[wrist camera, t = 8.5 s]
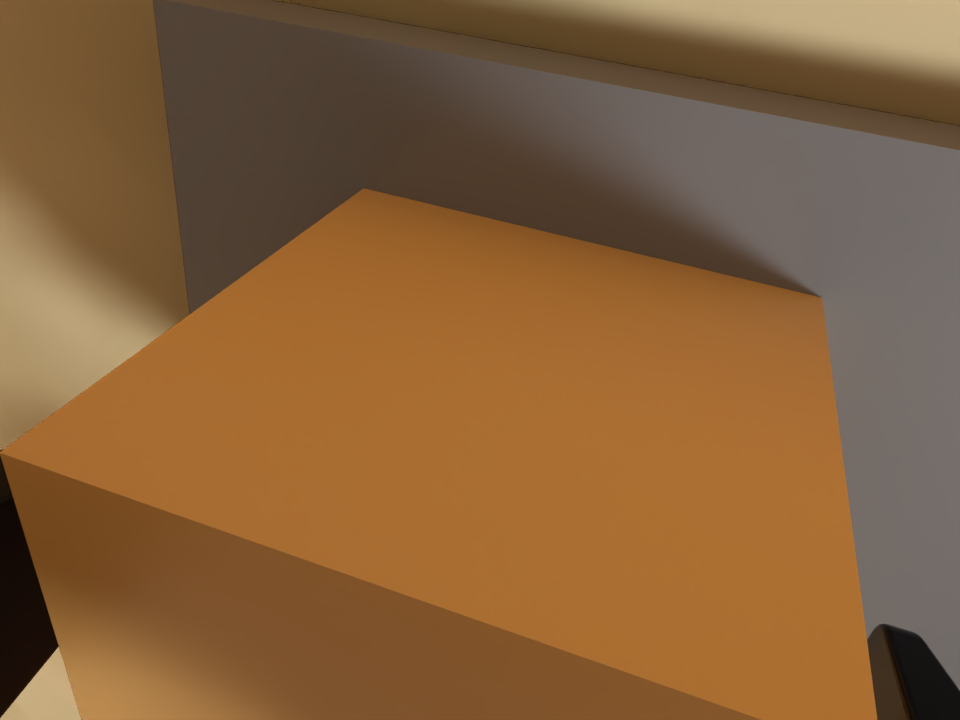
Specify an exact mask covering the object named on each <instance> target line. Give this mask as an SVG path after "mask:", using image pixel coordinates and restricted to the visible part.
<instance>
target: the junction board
mask: <svg viewBox="0 0 960 720" xmlns="http://www.w3.org/2000/svg"><path fill="white" fill-rule="evenodd" d="M153 3H154V12H155V20H156V29H157V38H158V46H159V55H160V63H161V72H162V81H163V89H164V98H165V106H166V115H167V124H168V132H169V141H170V149H171V158H172V167H173V175H174V184H175V192H176V201H177V210H178V218H179V227H180V235H181V244H182V253H183V261H184V270H185V278H186V287H187V296H188V304H189V313H190V314H191V313H193V312H194V311H195V310H197V309H198V308H199V307H201V306H202V305H204V304H205V303H206V302H208V301H209V300H210V299H212V298H213V297H215V296H216V295H217V294H219V293H220V292H221V291H223V290H224V289H226V288H227V287H228V286H230V285H231V284H232V283H234V282H235V281H237V280H238V279H239V278H241V277H242V276H244V275H245V274H246V273H248V272H249V271H250V270H252V269H253V268H255V267H256V266H257V265H259V264H260V263H261V262H263V261H264V260H266V259H267V258H268V257H270V256H271V255H272V254H274V253H275V252H277V251H278V250H279V249H281V248H282V247H283V246H285V245H286V244H288V243H289V242H290V241H292V240H293V239H294V238H296V237H297V236H299V235H300V234H301V233H303V232H304V231H306V230H307V229H308V228H310V227H311V226H312V225H314V224H315V223H317V222H318V221H319V220H321V219H322V218H323V217H325V216H326V215H328V214H329V213H330V212H332V211H333V210H334V209H336V208H337V207H339V206H340V205H341V204H343V203H344V202H345V201H347V200H348V199H350V198H351V197H352V196H354V195H355V194H356V193H358V192H359V191H361V190H362V189H363V188H365V189H369V190H373V191H377V192H381V193H386V194H390V195H394V196H398V197H402V198H406V199H411V200H415V201H419V202H423V203H427V204H432V205H436V206H440V207H444V208H448V209H453V210H457V211H461V212H465V213H469V214H473V215H478V216H482V217H486V218H490V219H494V220H499V221H503V222H507V223H511V224H515V225H520V226H524V227H528V228H532V229H536V230H540V231H545V232H549V233H553V234H557V235H561V236H566V237H570V238H574V239H578V240H582V241H587V242H591V243H595V244H599V245H603V246H607V247H612V248H616V249H620V250H624V251H628V252H633V253H637V254H641V255H645V256H649V257H654V258H658V259H662V260H666V261H670V262H674V263H679V264H683V265H687V266H691V267H695V268H700V269H704V270H708V271H712V272H716V273H721V274H725V275H729V276H733V277H737V278H741V279H746V280H750V281H754V282H758V283H762V284H767V285H771V286H775V287H779V288H783V289H788V290H792V291H796V292H800V293H804V294H808V295H813V296H817V297H821V298H822V301H823V309H824V316H825V324H826V331H827V339H828V347H829V354H830V362H831V369H832V377H833V385H834V392H835V400H836V408H837V415H838V423H839V430H840V438H841V446H842V453H843V461H844V468H845V476H846V484H847V491H848V499H849V507H850V514H851V522H852V529H853V537H854V545H855V552H856V560H857V568H858V575H859V583H860V590H861V598H862V606H863V613H864V621H865V628H866V636H867V639H868V637H869V636H870V634H871V633H872V631H873V630H874V628H875V627H876V626H878V625H879V624H889V625H892V626H895V627H899V628H902V629H905V630H908V631H911V632H914V633H916V634H918V635H919V636H920V637H922V638H923V640H924V641H925V642H926V643H927V645H928V646H929V648H930V649H931V650H932V652H933V653H934V655H935V656H936V657H937V659H938V660H939V661H940V663H941V664H942V666H943V667H944V668H945V670H946V671H947V673H948V674H949V675H950V677H951V678H952V680H953V681H954V682H955V684H956V685H957V686H958V688H959V689H960V126H957V125H951V124H946V123H940V122H935V121H929V120H924V119H919V118H913V117H908V116H902V115H897V114H891V113H886V112H880V111H875V110H869V109H864V108H859V107H853V106H848V105H842V104H837V103H831V102H826V101H820V100H815V99H809V98H804V97H799V96H793V95H788V94H782V93H777V92H771V91H766V90H760V89H755V88H749V87H744V86H739V85H733V84H728V83H722V82H717V81H711V80H706V79H700V78H695V77H689V76H684V75H679V74H673V73H668V72H662V71H657V70H651V69H646V68H640V67H635V66H629V65H624V64H619V63H613V62H608V61H602V60H597V59H591V58H586V57H580V56H575V55H569V54H564V53H559V52H553V51H548V50H542V49H537V48H531V47H526V46H520V45H515V44H509V43H504V42H499V41H493V40H488V39H482V38H477V37H471V36H466V35H460V34H455V33H449V32H444V31H439V30H433V29H428V28H422V27H417V26H411V25H406V24H400V23H395V22H389V21H384V20H379V19H373V18H368V17H362V16H357V15H351V14H346V13H340V12H335V11H329V10H324V9H319V8H313V7H308V6H302V5H297V4H291V3H286V2H280V1H275V0H153Z"/></svg>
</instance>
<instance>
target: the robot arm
mask: <svg viewBox="0 0 960 720" xmlns="http://www.w3.org/2000/svg"><path fill="white" fill-rule="evenodd" d="M3 450H4V449H3ZM1 451H2V450H0V452H1ZM867 644H868V651H869V659H870V667H871V674H872V682H873V689H874V697H875V705H876V712H877V720H960V689H959V688H958V686H957V685H956V684H955V682H954V681H953V680H952V678H951V677H950V675H949V674H948V673H947V671H946V670H945V668H944V667H943V666H942V664H941V663H940V661H939V660H938V659H937V657H936V656H935V655H934V653H933V652H932V650H931V649H930V648H929V646H928V645H927V643H926V642H925V641H924V640H923V638H922V637H920V636H919V635H918V634H916V633H914V632H911V631H908V630H905V629H902V628H899V627H895V626H892V625H889V624H879V625H878V626H876V627H875V628H874V630H873V631H872V633H871V634H870V636H869V637H868V639H867ZM58 647H59V645H58V642H57V639H56V635H55V632H54V629H53V626H52V622H51V619H50V616H49V613H48V609H47V606H46V603H45V599H44V596H43V593H42V590H41V586H40V583H39V580H38V577H37V573H36V570H35V567H34V564H33V560H32V557H31V554H30V551H29V547H28V544H27V541H26V538H25V534H24V531H23V528H22V524H21V521H20V518H19V515H18V511H17V508H16V505H15V502H14V498H13V495H12V492H11V489H10V485H9V482H8V479H7V476H6V472H5V469H4V466H3V463H2V459H1V456H0V718H1V716H2V715H3V714H4V713H5V712H6V710H7V709H8V708H9V707H10V705H11V704H12V703H13V702H14V701H15V699H16V698H17V697H18V696H19V694H20V693H21V692H22V691H23V690H24V688H25V687H26V686H27V685H28V683H29V682H30V681H31V680H32V679H33V677H34V676H35V675H36V674H37V672H38V671H39V670H40V669H41V667H42V666H43V665H44V664H45V663H46V661H47V660H48V659H49V658H50V656H51V655H52V654H53V653H54V652H55V650H56V649H57V648H58Z"/></svg>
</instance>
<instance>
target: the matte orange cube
mask: <svg viewBox="0 0 960 720" xmlns="http://www.w3.org/2000/svg"><path fill="white" fill-rule="evenodd" d="M0 456H1V459H2V463H3V466H4V469H5V472H6V476H7V479H8V482H9V485H10V489H11V492H12V495H13V498H14V502H15V505H16V508H17V511H18V515H19V518H20V521H21V524H22V528H23V531H24V534H25V538H26V541H27V544H28V547H29V551H30V554H31V557H32V560H33V564H34V567H35V570H36V573H37V577H38V580H39V583H40V586H41V590H42V593H43V596H44V599H45V603H46V606H47V609H48V613H49V616H50V619H51V622H52V626H53V629H54V632H55V635H56V639H57V642H58V645H59V648H60V652H61V655H62V658H63V661H64V665H65V668H66V671H67V674H68V678H69V681H70V684H71V688H72V691H73V694H74V697H75V701H76V704H77V707H78V710H79V714H80V717H81V720H877V712H876V705H875V697H874V689H873V682H872V674H871V667H870V659H869V651H868V644H867V636H866V628H865V621H864V613H863V606H862V598H861V590H860V583H859V575H858V568H857V560H856V552H855V545H854V537H853V529H852V522H851V514H850V507H849V499H848V491H847V484H846V476H845V468H844V461H843V453H842V446H841V438H840V430H839V423H838V415H837V408H836V400H835V392H834V385H833V377H832V369H831V362H830V354H829V347H828V339H827V331H826V324H825V316H824V309H823V301H822V298H821V297H817V296H813V295H808V294H804V293H800V292H796V291H792V290H788V289H783V288H779V287H775V286H771V285H767V284H762V283H758V282H754V281H750V280H746V279H741V278H737V277H733V276H729V275H725V274H721V273H716V272H712V271H708V270H704V269H700V268H695V267H691V266H687V265H683V264H679V263H674V262H670V261H666V260H662V259H658V258H654V257H649V256H645V255H641V254H637V253H633V252H628V251H624V250H620V249H616V248H612V247H607V246H603V245H599V244H595V243H591V242H587V241H582V240H578V239H574V238H570V237H566V236H561V235H557V234H553V233H549V232H545V231H540V230H536V229H532V228H528V227H524V226H520V225H515V224H511V223H507V222H503V221H499V220H494V219H490V218H486V217H482V216H478V215H473V214H469V213H465V212H461V211H457V210H453V209H448V208H444V207H440V206H436V205H432V204H427V203H423V202H419V201H415V200H411V199H406V198H402V197H398V196H394V195H390V194H386V193H381V192H377V191H373V190H369V189H365V188H363V189H362V190H361V191H359V192H358V193H356V194H355V195H354V196H352V197H351V198H350V199H348V200H347V201H345V202H344V203H343V204H341V205H340V206H339V207H337V208H336V209H334V210H333V211H332V212H330V213H329V214H328V215H326V216H325V217H323V218H322V219H321V220H319V221H318V222H317V223H315V224H314V225H312V226H311V227H310V228H308V229H307V230H306V231H304V232H303V233H301V234H300V235H299V236H297V237H296V238H294V239H293V240H292V241H290V242H289V243H288V244H286V245H285V246H283V247H282V248H281V249H279V250H278V251H277V252H275V253H274V254H272V255H271V256H270V257H268V258H267V259H266V260H264V261H263V262H261V263H260V264H259V265H257V266H256V267H255V268H253V269H252V270H250V271H249V272H248V273H246V274H245V275H244V276H242V277H241V278H239V279H238V280H237V281H235V282H234V283H232V284H231V285H230V286H228V287H227V288H226V289H224V290H223V291H221V292H220V293H219V294H217V295H216V296H215V297H213V298H212V299H210V300H209V301H208V302H206V303H205V304H204V305H202V306H201V307H199V308H198V309H197V310H195V311H194V312H193V313H191V314H190V315H188V316H187V317H186V318H184V319H183V320H182V321H180V322H179V323H177V324H176V325H175V326H173V327H172V328H170V329H169V330H168V331H166V332H165V333H164V334H162V335H161V336H159V337H158V338H157V339H155V340H154V341H153V342H151V343H150V344H148V345H147V346H146V347H144V348H143V349H142V350H140V351H139V352H137V353H136V354H135V355H133V356H132V357H131V358H129V359H128V360H126V361H125V362H124V363H122V364H121V365H120V366H118V367H117V368H115V369H114V370H113V371H111V372H110V373H109V374H107V375H106V376H104V377H103V378H102V379H100V380H99V381H97V382H96V383H95V384H93V385H92V386H91V387H89V388H88V389H86V390H85V391H84V392H82V393H81V394H80V395H78V396H77V397H75V398H74V399H73V400H71V401H70V402H69V403H67V404H66V405H64V406H63V407H62V408H60V409H59V410H58V411H56V412H55V413H53V414H52V415H51V416H49V417H48V418H47V419H45V420H44V421H42V422H41V423H40V424H38V425H37V426H35V427H34V428H33V429H31V430H30V431H29V432H27V433H26V434H24V435H23V436H22V437H20V438H19V439H18V440H16V441H15V442H13V443H12V444H11V445H9V446H8V447H7V448H5V449H4V450H2V451H1V452H0Z"/></svg>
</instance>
